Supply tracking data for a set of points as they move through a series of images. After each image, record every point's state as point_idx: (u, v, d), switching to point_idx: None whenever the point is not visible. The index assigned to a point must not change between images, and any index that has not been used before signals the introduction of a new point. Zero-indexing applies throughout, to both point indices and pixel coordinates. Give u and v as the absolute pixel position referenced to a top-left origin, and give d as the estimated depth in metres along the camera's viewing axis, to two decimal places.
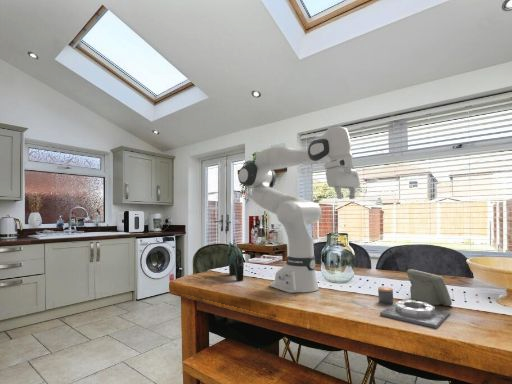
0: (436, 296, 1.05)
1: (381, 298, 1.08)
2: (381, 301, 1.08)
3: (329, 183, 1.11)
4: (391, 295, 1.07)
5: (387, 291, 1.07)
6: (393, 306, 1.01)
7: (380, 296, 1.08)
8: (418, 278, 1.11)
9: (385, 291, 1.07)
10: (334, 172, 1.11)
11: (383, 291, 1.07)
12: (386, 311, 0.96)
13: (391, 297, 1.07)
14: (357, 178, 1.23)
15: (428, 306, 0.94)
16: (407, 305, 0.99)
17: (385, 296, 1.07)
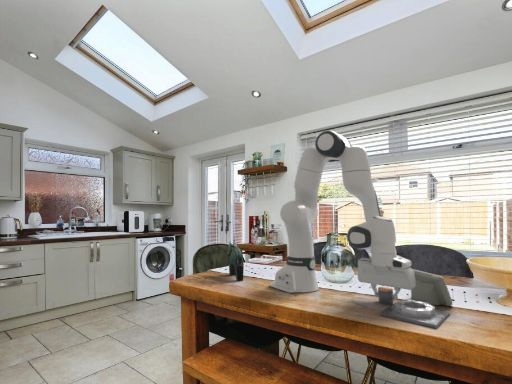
0: (436, 296, 1.05)
1: (381, 298, 1.08)
2: (381, 301, 1.08)
3: (413, 286, 1.02)
4: (391, 295, 1.07)
5: (387, 291, 1.07)
6: (393, 306, 1.01)
7: (380, 296, 1.08)
8: (419, 278, 1.11)
9: (385, 291, 1.07)
10: (413, 274, 1.04)
11: (383, 291, 1.07)
12: (386, 311, 0.96)
13: (391, 297, 1.07)
14: None
15: (428, 306, 0.94)
16: (407, 305, 0.99)
17: (385, 296, 1.07)
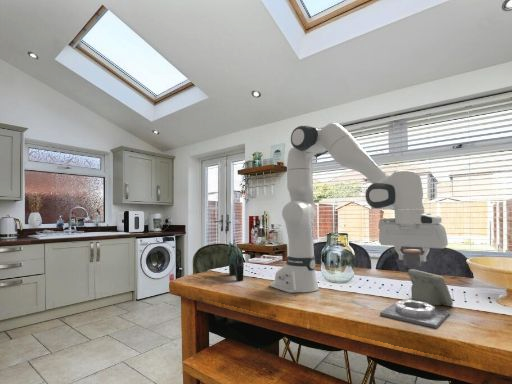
0: (437, 296, 1.05)
1: (407, 260, 0.96)
2: (407, 264, 0.96)
3: (445, 244, 0.90)
4: None
5: (414, 252, 0.95)
6: (393, 306, 1.01)
7: (406, 259, 0.96)
8: (419, 278, 1.11)
9: (412, 252, 0.95)
10: (445, 231, 0.92)
11: (410, 252, 0.95)
12: (386, 311, 0.96)
13: (419, 259, 0.95)
14: None
15: (428, 306, 0.94)
16: (407, 305, 0.99)
17: (413, 258, 0.95)
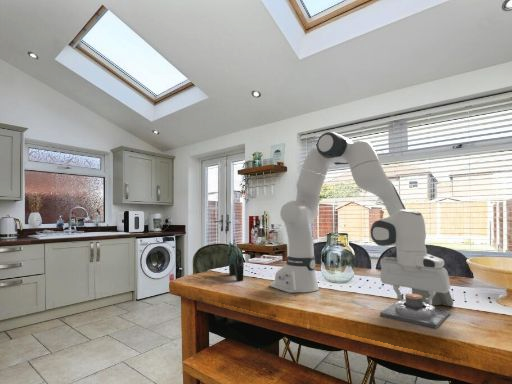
0: (437, 296, 1.05)
1: (409, 306, 0.95)
2: None
3: (448, 289, 0.89)
4: (421, 303, 0.94)
5: (417, 299, 0.94)
6: (393, 306, 1.01)
7: (408, 305, 0.95)
8: None
9: (414, 299, 0.94)
10: (447, 275, 0.91)
11: (412, 299, 0.94)
12: (386, 311, 0.96)
13: (421, 306, 0.94)
14: None
15: (428, 306, 0.94)
16: None
17: (415, 305, 0.94)
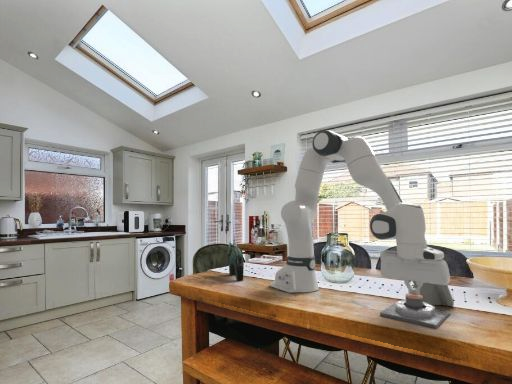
0: (438, 296, 1.05)
1: (409, 306, 0.95)
2: None
3: (448, 281, 0.89)
4: (421, 303, 0.94)
5: (416, 298, 0.94)
6: (393, 306, 1.01)
7: (408, 305, 0.95)
8: None
9: (414, 298, 0.94)
10: (447, 267, 0.91)
11: (412, 298, 0.94)
12: (386, 311, 0.96)
13: (421, 305, 0.94)
14: None
15: (428, 306, 0.94)
16: None
17: (415, 304, 0.94)
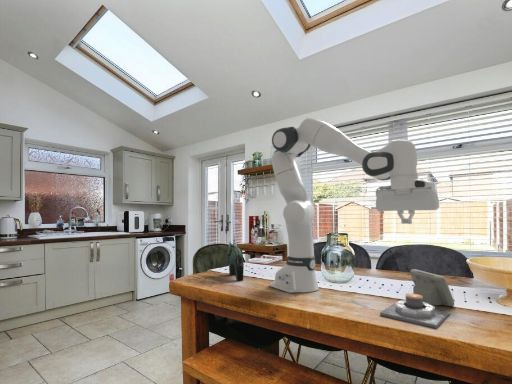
0: (438, 296, 1.05)
1: (409, 306, 0.95)
2: None
3: (437, 206, 0.97)
4: (421, 303, 0.94)
5: (416, 299, 0.94)
6: (393, 306, 1.01)
7: (408, 304, 0.95)
8: (421, 278, 1.11)
9: (414, 298, 0.94)
10: None
11: (412, 298, 0.94)
12: (386, 311, 0.96)
13: (421, 306, 0.94)
14: None
15: (428, 306, 0.94)
16: None
17: (414, 304, 0.94)
